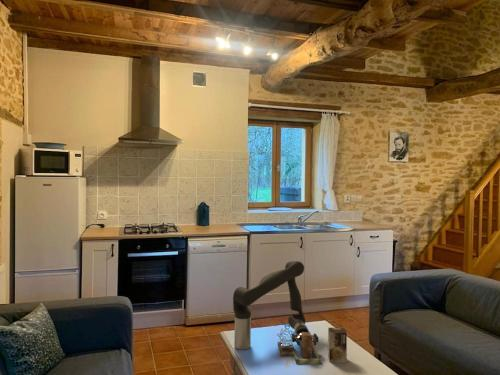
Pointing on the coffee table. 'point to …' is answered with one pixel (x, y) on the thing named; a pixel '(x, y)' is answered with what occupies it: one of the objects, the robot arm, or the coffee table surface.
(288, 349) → the trap lane
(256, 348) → the coffee table surface
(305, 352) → the walnut block
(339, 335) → the coffee box
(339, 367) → the coffee table surface
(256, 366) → the coffee table surface
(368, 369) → the coffee table surface
